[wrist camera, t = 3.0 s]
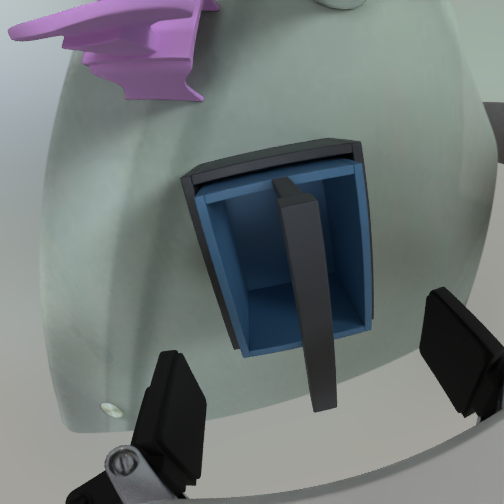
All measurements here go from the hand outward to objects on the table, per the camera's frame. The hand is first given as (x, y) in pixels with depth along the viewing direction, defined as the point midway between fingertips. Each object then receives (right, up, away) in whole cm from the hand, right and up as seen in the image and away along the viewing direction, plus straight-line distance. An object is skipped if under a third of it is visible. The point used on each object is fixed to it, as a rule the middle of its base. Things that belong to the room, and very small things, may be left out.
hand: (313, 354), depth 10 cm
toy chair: (-8, +19, +8) cm, 22 cm away
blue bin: (0, +6, +13) cm, 14 cm away
